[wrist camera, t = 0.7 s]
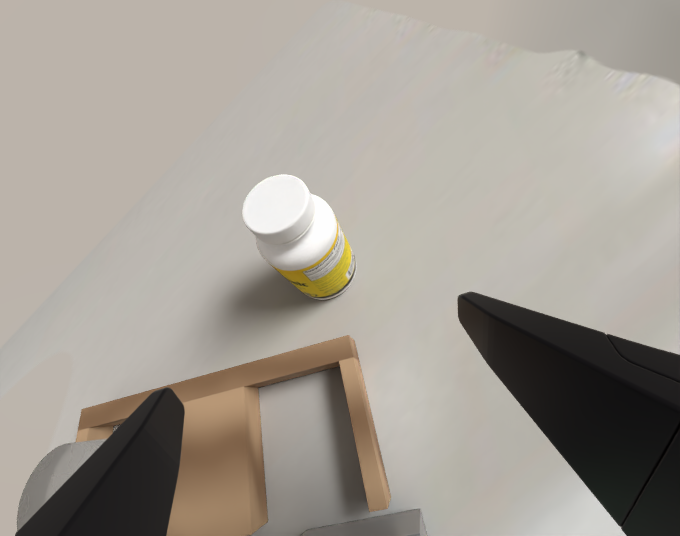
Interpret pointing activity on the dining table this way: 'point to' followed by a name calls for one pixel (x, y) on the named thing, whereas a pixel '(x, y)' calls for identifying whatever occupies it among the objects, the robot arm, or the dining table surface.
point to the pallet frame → (243, 438)
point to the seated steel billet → (53, 475)
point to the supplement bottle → (299, 236)
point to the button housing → (377, 526)
